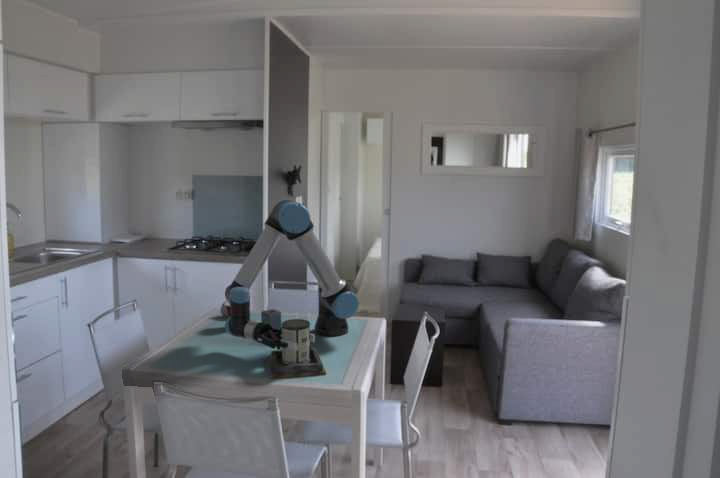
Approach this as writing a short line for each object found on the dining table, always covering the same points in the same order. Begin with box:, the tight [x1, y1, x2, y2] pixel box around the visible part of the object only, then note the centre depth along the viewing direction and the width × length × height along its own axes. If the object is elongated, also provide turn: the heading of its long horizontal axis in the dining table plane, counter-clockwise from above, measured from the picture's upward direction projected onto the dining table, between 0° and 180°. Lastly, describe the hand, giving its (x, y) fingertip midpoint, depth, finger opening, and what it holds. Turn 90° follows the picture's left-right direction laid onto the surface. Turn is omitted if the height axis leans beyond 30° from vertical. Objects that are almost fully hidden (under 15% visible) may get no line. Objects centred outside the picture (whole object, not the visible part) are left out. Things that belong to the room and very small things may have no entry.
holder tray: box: [268, 347, 327, 380], centre depth 193 cm, size 19×19×4 cm
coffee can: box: [280, 318, 311, 365], centre depth 191 cm, size 10×10×14 cm
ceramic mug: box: [220, 300, 229, 318], centre depth 256 cm, size 11×8×8 cm
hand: (305, 342), depth 189 cm, fingers closed on coffee can, 10 cm apart
